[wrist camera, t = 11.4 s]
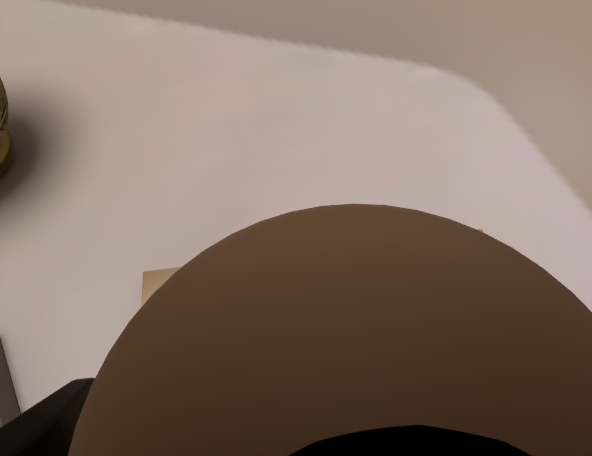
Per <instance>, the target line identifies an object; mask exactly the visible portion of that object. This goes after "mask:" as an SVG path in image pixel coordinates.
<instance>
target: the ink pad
mask: <svg viewBox="0 0 592 456" xmlns="http://www.w3.org/2000/svg"><path fill="white" fill-rule="evenodd" d="M19 415H20V410H19V406H18V403H17V399H16V395H15V392H14V388H13V385H12V381H11V377H10V374H9V370H8V366H7V363H6V359H5V355H4V352H3V348H2V345H1V341H0V427H2V426H3V425H5V424H7V423H8V422H10V421H11V420H13V419H14V418H16V417H17V416H19Z"/></svg>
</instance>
